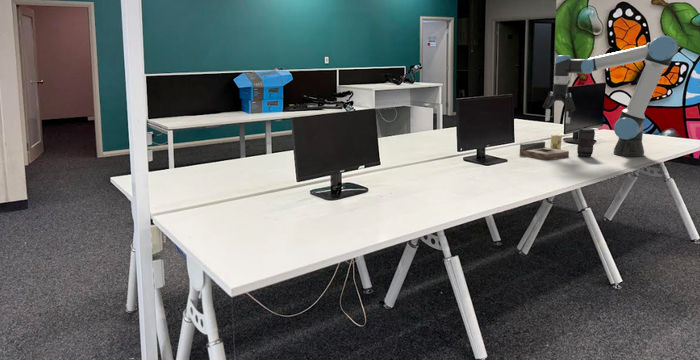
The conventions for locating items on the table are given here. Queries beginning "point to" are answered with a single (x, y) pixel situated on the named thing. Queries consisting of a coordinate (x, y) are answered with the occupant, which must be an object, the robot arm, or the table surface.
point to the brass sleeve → (556, 141)
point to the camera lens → (585, 142)
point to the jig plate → (541, 151)
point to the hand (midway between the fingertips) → (557, 122)
